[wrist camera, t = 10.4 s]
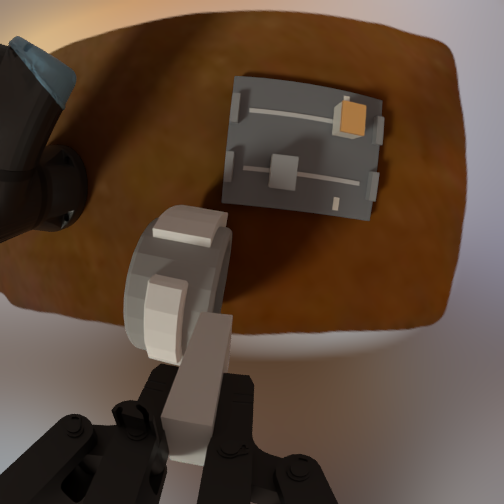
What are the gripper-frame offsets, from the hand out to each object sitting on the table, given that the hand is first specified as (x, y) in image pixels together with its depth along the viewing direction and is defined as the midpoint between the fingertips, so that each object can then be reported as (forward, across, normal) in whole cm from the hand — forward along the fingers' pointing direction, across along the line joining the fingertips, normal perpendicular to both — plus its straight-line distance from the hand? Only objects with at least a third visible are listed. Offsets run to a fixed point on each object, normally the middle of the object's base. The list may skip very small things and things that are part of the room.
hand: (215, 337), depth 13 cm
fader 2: (+26, +12, +16) cm, 33 cm away
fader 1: (+26, +4, +8) cm, 27 cm away
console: (+28, +7, +12) cm, 32 cm away
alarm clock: (+29, -6, -6) cm, 30 cm away
